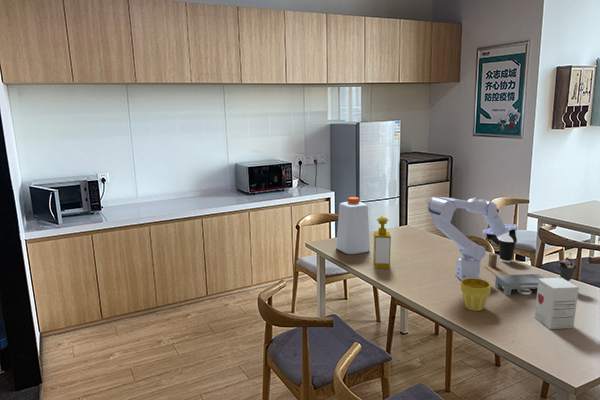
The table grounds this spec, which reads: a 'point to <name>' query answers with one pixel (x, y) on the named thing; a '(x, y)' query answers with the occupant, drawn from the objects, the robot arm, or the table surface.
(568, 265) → the sundae
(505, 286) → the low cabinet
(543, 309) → the supplement box
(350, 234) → the plastic bottle
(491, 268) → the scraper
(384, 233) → the soap bottle
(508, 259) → the dixie cup
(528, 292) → the steel disc
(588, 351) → the table surface
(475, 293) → the plant pot
